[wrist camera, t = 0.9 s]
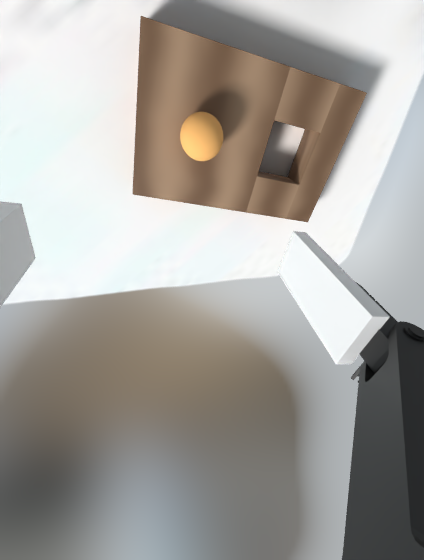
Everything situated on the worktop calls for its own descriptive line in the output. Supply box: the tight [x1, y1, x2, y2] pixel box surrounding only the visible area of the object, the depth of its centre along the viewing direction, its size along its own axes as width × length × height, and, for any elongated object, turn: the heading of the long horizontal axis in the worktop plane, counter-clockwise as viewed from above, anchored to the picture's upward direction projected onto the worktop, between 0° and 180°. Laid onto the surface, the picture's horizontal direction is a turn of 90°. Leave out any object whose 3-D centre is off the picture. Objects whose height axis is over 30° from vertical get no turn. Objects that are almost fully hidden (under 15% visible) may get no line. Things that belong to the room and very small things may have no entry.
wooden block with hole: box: [133, 16, 367, 222], centre depth 28 cm, size 22×14×4 cm, turn 77°
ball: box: [180, 112, 223, 161], centre depth 24 cm, size 4×4×4 cm
